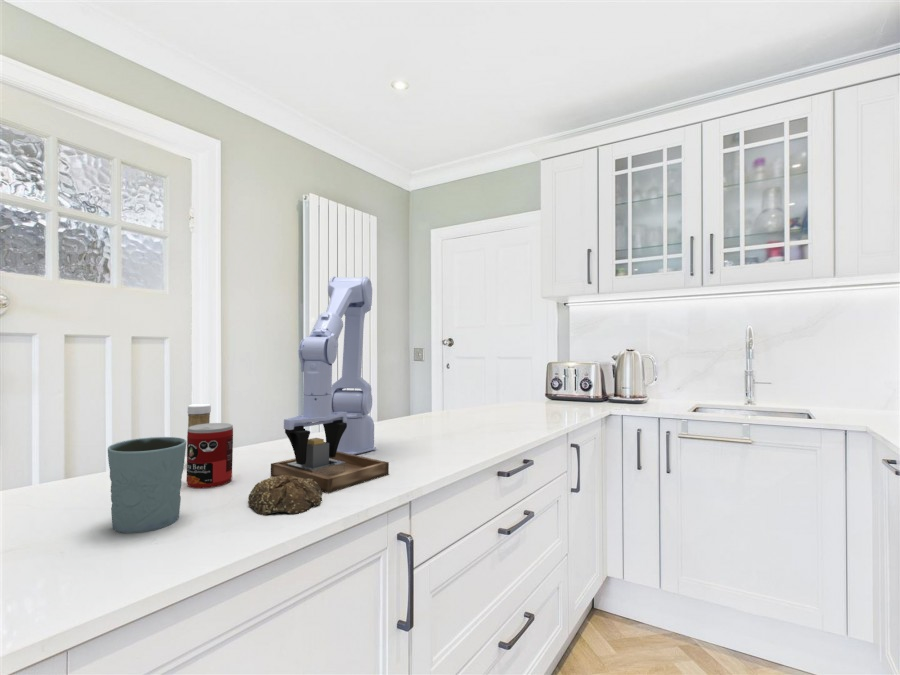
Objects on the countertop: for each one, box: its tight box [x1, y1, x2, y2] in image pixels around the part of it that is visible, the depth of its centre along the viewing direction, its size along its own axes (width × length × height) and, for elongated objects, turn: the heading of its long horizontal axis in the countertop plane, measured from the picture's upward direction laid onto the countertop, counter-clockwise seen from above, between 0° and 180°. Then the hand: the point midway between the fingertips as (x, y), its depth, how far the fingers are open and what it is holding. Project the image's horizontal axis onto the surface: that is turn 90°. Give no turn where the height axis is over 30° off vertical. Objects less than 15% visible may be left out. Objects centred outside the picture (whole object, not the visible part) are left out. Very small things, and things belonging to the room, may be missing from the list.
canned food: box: [186, 422, 234, 489], centre depth 92 cm, size 8×8×11 cm
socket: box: [287, 458, 346, 477], centre depth 98 cm, size 8×8×2 cm
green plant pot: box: [107, 436, 187, 534], centre depth 72 cm, size 10×10×12 cm
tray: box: [270, 451, 390, 494], centre depth 98 cm, size 16×18×2 cm
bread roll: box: [247, 475, 323, 516], centre depth 82 cm, size 13×12×5 cm
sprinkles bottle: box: [187, 403, 212, 428], centre depth 105 cm, size 5×5×14 cm
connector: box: [301, 437, 329, 468], centre depth 98 cm, size 4×4×7 cm
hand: (316, 459), depth 98 cm, fingers open, 7 cm apart
